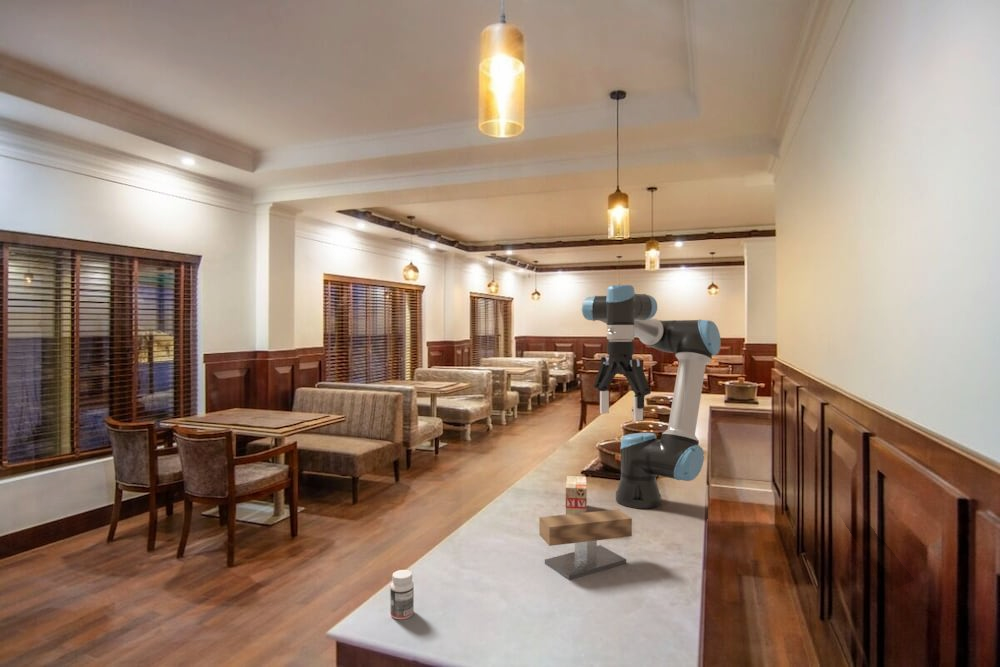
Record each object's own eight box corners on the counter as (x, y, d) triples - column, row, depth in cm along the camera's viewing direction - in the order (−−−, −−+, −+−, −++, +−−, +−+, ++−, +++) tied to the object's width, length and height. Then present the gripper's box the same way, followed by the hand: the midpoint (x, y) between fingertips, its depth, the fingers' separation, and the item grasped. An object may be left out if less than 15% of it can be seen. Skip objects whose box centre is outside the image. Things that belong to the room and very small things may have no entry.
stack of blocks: (567, 504, 178) (567, 468, 178) (586, 505, 177) (586, 468, 177) (565, 528, 157) (565, 486, 157) (586, 529, 156) (586, 487, 156)
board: (618, 526, 139) (618, 509, 139) (631, 536, 132) (631, 518, 132) (539, 535, 133) (539, 517, 133) (549, 545, 127) (549, 527, 126)
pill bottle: (391, 608, 111) (391, 568, 111) (414, 607, 112) (414, 568, 112) (389, 620, 107) (389, 579, 107) (412, 619, 107) (412, 578, 107)
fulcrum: (600, 548, 142) (600, 522, 142) (626, 563, 133) (626, 535, 133) (544, 563, 133) (544, 535, 133) (568, 579, 124) (568, 550, 124)
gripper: (581, 340, 156) (581, 411, 156) (643, 341, 135) (643, 425, 135) (601, 339, 160) (601, 409, 160) (664, 341, 138) (664, 422, 138)
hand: (620, 416), depth 147 cm, fingers open, 13 cm apart
